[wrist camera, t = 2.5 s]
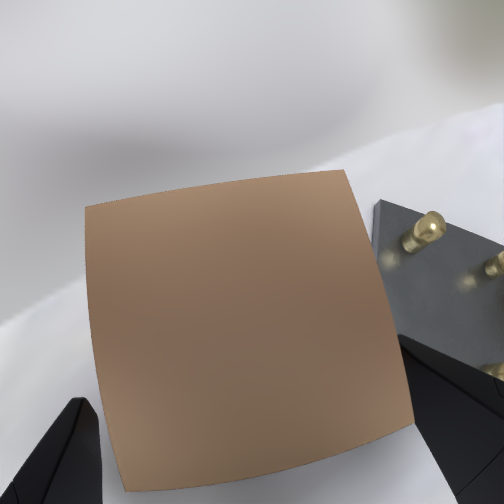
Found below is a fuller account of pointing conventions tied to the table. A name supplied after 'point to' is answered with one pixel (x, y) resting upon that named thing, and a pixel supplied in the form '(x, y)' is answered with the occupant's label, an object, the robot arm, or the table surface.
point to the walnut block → (239, 330)
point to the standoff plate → (442, 285)
